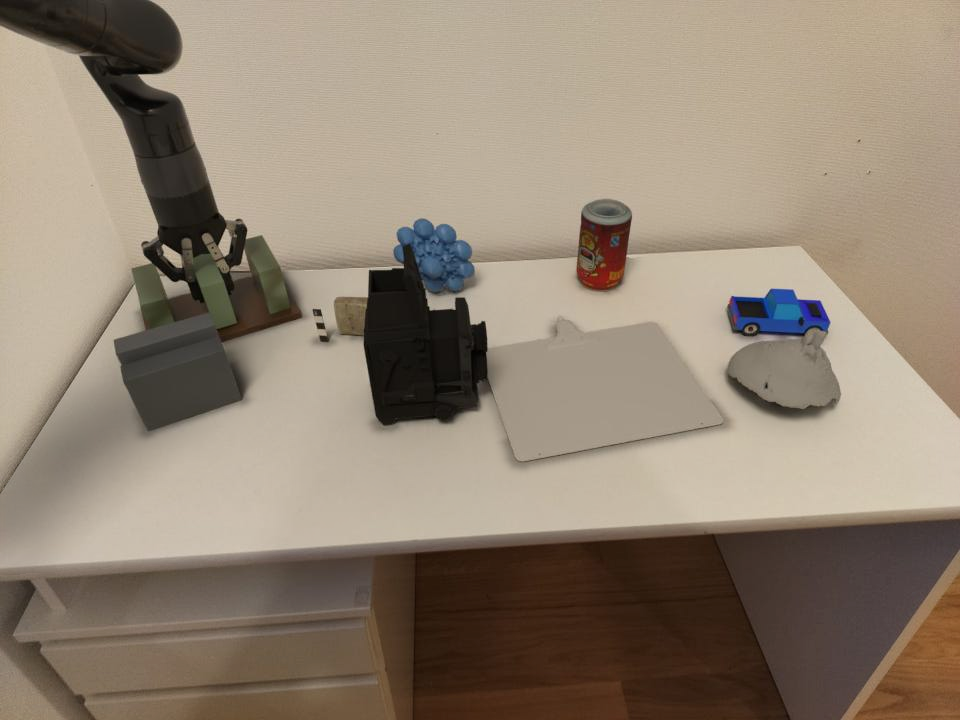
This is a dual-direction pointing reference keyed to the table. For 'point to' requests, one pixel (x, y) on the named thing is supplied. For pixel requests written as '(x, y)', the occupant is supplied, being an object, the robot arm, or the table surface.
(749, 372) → the grey clay mound
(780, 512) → the table surface
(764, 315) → the toy car
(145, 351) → the grey grooved block
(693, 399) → the grey rectangular panel
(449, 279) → the grapes
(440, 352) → the camera
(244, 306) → the book rack
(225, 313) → the green book
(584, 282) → the soda can
